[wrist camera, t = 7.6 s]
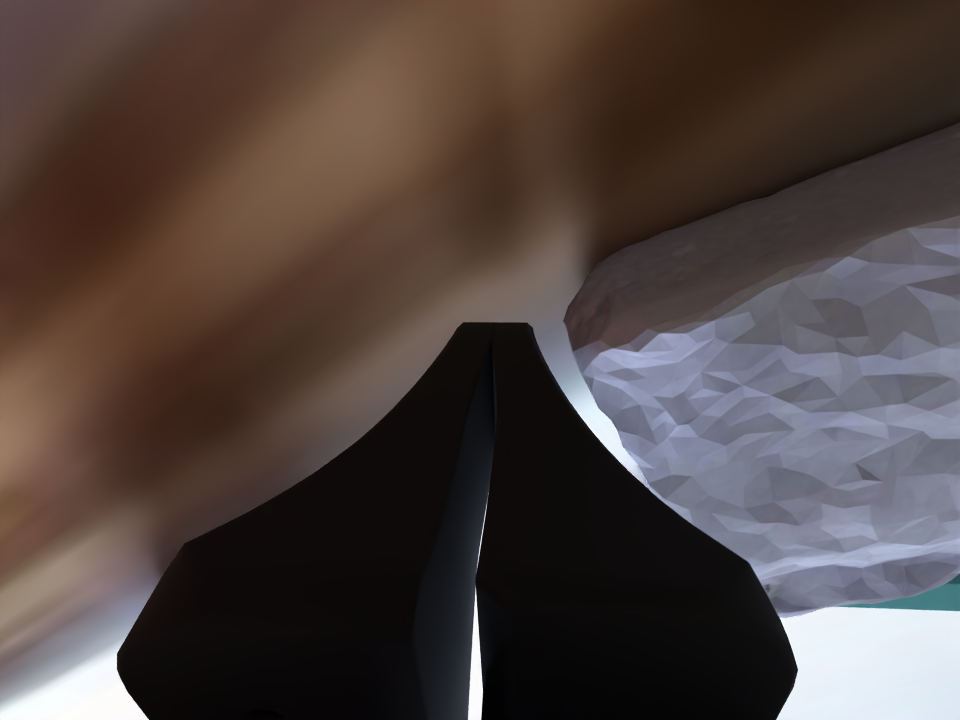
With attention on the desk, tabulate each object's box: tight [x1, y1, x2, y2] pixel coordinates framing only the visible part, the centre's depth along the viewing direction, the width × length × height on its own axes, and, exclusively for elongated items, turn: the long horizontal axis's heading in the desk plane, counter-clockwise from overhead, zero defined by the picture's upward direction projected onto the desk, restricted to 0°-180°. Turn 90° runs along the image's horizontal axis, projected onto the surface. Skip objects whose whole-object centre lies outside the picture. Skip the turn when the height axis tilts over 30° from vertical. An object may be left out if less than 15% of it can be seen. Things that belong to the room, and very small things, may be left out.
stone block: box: [563, 122, 960, 618], centre depth 11 cm, size 12×5×10 cm
